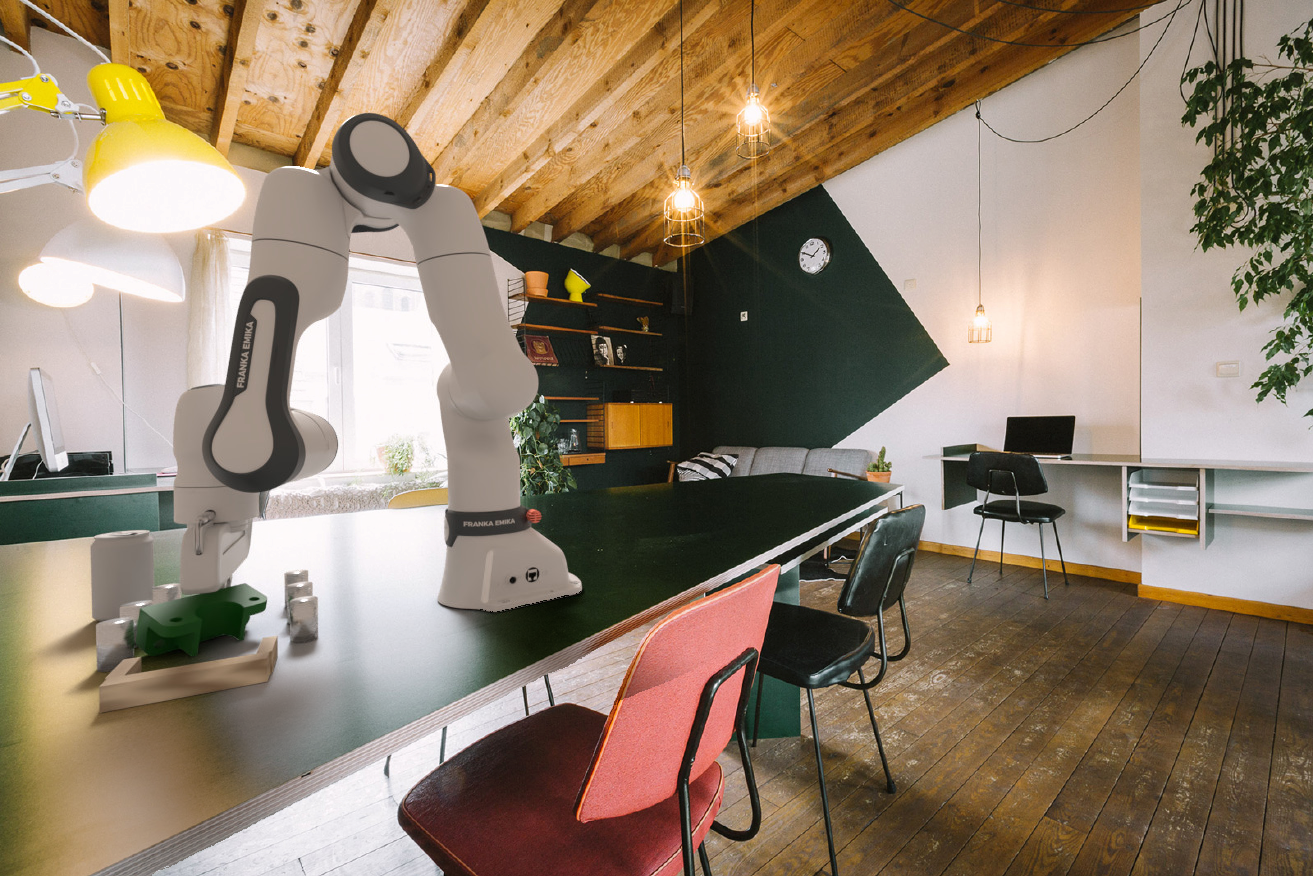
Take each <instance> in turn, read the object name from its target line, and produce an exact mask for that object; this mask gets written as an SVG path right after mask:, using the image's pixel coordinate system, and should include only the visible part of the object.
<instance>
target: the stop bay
mask: <svg viewBox="0 0 1313 876" xmlns="http://www.w3.org/2000/svg"><path fill="white" fill-rule="evenodd" d="M278 638H279V637H278V635H273V636H268V637H267V636H266V637H263V638H262V639H261V641H260V644H259V645H258V648H257V651H256V653H252V654H246V655H240V656H233V657H227V658H222V659H216V660H210V661H204V662H197V663H191V664H185V665H180V666H174V667H173V666H172V667H168V668H161V669H155V670H154V669H153V670H149V671H144V672H143V671H142V656H138V657H134V658H130V659H124V660H123V661H122V662H121V663H120V664H119V665H118V666H117V667H116V668H115V669H114V670H113V671H110V672H109V674H108V675H107V676H105V678H104V681H103V682H102V683H101V684H100V685H99V686H98V695H99V696H98V698H99V701H98V702H99V703H98V705H99V714H101V713H107V712H111V711H118V710H122V709H123V710H124V709H129V708H132V707H133V708H134V707H139V706H144V705H151V704H154V703H155V704H156V703H161V702H165V701H170V700H176V699H182V698H187V697H193V696H197V695H203V694H207V693H208V694H209V693H213V692H218V691H225V690H230V689H236V688H239V687H245V686H250V685H256V684H261V683H266V682H268V681H269V678H270V676H271V675H272V674H273V672H274V669H275V666H276V664H277V660H278V655H279V652H278V651H279V650H278V649H279V647H278V641H279V639H278Z"/></svg>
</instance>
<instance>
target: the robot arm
mask: <svg viewBox="0 0 1313 876" xmlns="http://www.w3.org/2000/svg"><path fill="white" fill-rule="evenodd" d="M332 139H333V140H332V144H331V157H330V163H329V166H326V167H325V168H322V169H309V168H305V167H302V166H301V167H300V166H290V165H289V166H281V167H276V168H275V169H273V170H271V171H270V172H268V173H267V175H266V176H265V178H264V179H263V183H262V186H261V188H260V191H259V195H258V199H257V203H256V207H255V211H254V218H253V224H252V231H251V233H252V234H251V246H250V261H249V269H248V275H247V276H248V277H247V282H246V286H245V287H244V289H243V293H242V295H241V297H240V301H239V304H238V309H237V313H236V318H235V322H234V327H233V328H234V329H233V334H232V340H231V345H230V354H229V359H228V364H227V371H226V378H225V383H212V384H205V385H198V386H195V387H191V388H190V389H187V390H186V391H184V392H183V393H182V394H181V395H180V397H179V398H178V401H177V403H176V407H175V413H174V418H173V420H174V421H173V432H172V433H173V437H172V446H173V447H172V451H173V456H174V458H175V462H176V466H177V467H176V468H177V469H176V470H177V472H176V474H175V477H174V481H173V522H174V523H175V524H178V525H179V524H180V525H186V528H187V529H186V531H185V532H184V533H183V535H182V539H181V546H180V547H181V548H180V559H179V560H180V561H179V562H180V565H179V584H180V588H181V594H182V595H185V596H193V595H197V594H202V593H210V592H216V591H218V590H219V589H225V588H227V587H231V586H232V583H233V574H234V573H235V572H236V571H237V569H238V568H239V567H241V565H242V564H243V563H244V562H245V561H246V559H248V557H249V553H250V549H251V543H252V541H251V540H252V533H253V522H254V521H253V519H254V518H257V517H259V515H260V493H265V492H269V491H271V490H274V489H277V488H279V487H281V486H283V485H285V484H288V483H293V482H298V481H300V480H303V479H307V478H310V477H313V476H315V475H317V474H319V473H322V472H323V471H325V470H326V469H328V467H330V466H331V464H333V462H334V460H335V459H336V456H337V453H338V450H339V439H338V435H337V432H336V430H335V429H334V427H333V426H332V425H331V423H329V421H327V420H326V419H325V418H324V417H322V416H319V415H317V414H316V413H313V412H309V411H306V410H302V409H300V408H295V407H292V406H291V405H290V404H291V403H290V401H291V400H290V399H291V392H292V385H293V380H294V379H293V378H294V377H293V376H294V372H295V371H294V370H295V362H296V356H297V349H298V344H299V342H300V339H301V338H302V335H303V334H304V332H305V331H306V330H307V329H308V328H309V327H310V326H311V325H314V324H315V323H316V322H318V321H322V320H324V319H326V318H328V317H329V316H332V315H333V314H334V313H336V312H337V311H338V310H339V309H340V307H341V306H342V303H343V300H344V297H345V293H346V289H347V285H348V284H347V283H348V280H349V278H348V277H349V265H350V264H349V262H350V243H351V236H352V234H357V233H360V234H361V233H385V232H389V231H392V230H394V229H396V228H398V227H400V228H401V229H402V230H403V231H404V232H405V234H406V236H407V238H408V239H409V242H410V244H411V246H412V249H413V256H414V260H415V264H416V269H417V273H418V277H419V281H420V285H421V288H422V293H423V297H424V302H425V304H426V310H427V313H428V316H429V320H430V321H431V323H432V324H433V325H434V327H435V329H436V331H437V332H438V335H439V337H440V341H441V342H442V344H443V346H444V348H445V352H446V354H447V356H448V359H449V363H448V364H446V365H445V367H443V369H442V371H441V373H440V374H439V376H438V379H437V382H436V396H437V398H438V402H439V409H440V410H439V411H440V419H441V427H442V432H443V438H444V444H445V450H446V452H445V453H446V460H447V461H446V462H447V508H445V511H444V517H443V519H444V520H443V522H444V523H443V524H444V525H443V529H444V530H443V531H444V532H443V533H444V541H445V545H446V553H445V555H446V556H445V561H444V569H443V576H442V580H441V583H440V588H439V592H438V595H437V597H436V600H437V601H438V603H440V604H442V605H444V606H446V607H450V608H456V609H466V610H468V609H469V610H470V609H471V610H480V609H483V610H482V611H485V610H486V611H485V612H490V611H491V612H492V611H493V612H492V613H498V612H497V611H500V612H503V611H502V610H504V611H506V610H505V609H509V610H512V609H511V608H513V609H516V608H515V607H517V608H519V607H518V606H521V605H525V604H530V605H533V604H532V603H534V604H537V603H536V602H539V603H541V602H540V601H543V600H547V601H551V600H550V599H552V600H555V599H554V598H556V599H558V598H557V597H560V598H562V597H561V596H564V595H569V596H573V595H577V594H580V593H581V592H582V590H583V585H582V581H581V579H580V578H578V576H577V575H575V574H573V573H571V572H569V569H568V563H567V559H566V556H565V554H564V552H563V550H562V548H560V547H559V546H558V545H557V544H555V543H554V542H552V541H551V540H550V539H548V538H547V537H545V536H544V535H543V534H541V533H540V532H539V531H537V530H536V529H534V528H533V527H532V525H533V524H537V523H539V522H540V520H542V517H543V516H542V513H541V512H540V511H539V510H537V509H535V508H531V509H530V508H527V507H526V506H523V505H522V504H521V459H520V455H519V453H518V451H517V448H516V447H515V443H514V439H513V435H512V432H511V425H510V419H511V418H513V417H516V416H517V415H518V414H520V413H521V412H523V411H524V410H526V409H528V407H530V405H531V404H532V403H533V401H534V400H535V398H536V397H537V394H538V392H539V391H538V390H539V376H538V372H537V369H536V368H535V366H534V364H533V362H532V361H531V360H530V358H528V356H527V355H526V354H525V353H524V351H523V350H522V349H521V346H520V344H519V341H518V339H517V337H516V335H515V332H514V330H513V328H512V326H511V323H510V321H509V318H508V316H507V314H506V312H505V307H504V306H503V305H504V304H503V301H502V298H501V294H500V289H499V285H498V281H497V276H496V273H495V268H494V264H493V259H492V255H491V252H490V251H491V250H490V247H489V243H488V239H487V236H486V233H485V231H484V227H483V225H482V221H481V220H480V217H479V214H478V211H477V210H476V207H475V205H474V203H473V201H472V199H471V197H470V196H469V195H468V194H467V193H466V192H464V191H463V190H462V189H460V188H458V187H455V186H453V185H448V184H447V185H446V184H436V182H437V181H436V180H437V177H436V176H437V175H436V171H435V170H434V168H433V166H432V165H431V164H430V162H429V161H428V160H427V159H426V157H425V156H424V155H423V154H422V152H421V150H420V148H419V147H418V146H417V143H416V142H415V141H414V139H413V138H412V136H411V134H410V133H408V132H407V130H405V128H404V127H403V126H401V125H400V124H399V123H398V122H397V121H395V120H393V119H392V118H390V117H388V116H385V115H382V114H379V113H372V112H362V113H359V114H355V115H353V116H351V117H349V118H348V119H346V120H345V121H343V123H342V124H341V125H340V127H338V129H337V130H336V133H335V134H334V137H333V138H332ZM580 591H581V592H580ZM579 592H580V593H579ZM576 593H577V594H576ZM543 602H544V601H543ZM521 607H522V606H521Z"/></svg>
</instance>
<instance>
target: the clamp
mask: <svg viewBox="0 0 1313 876" xmlns="http://www.w3.org/2000/svg"><path fill="white" fill-rule="evenodd" d="M267 604H268V597H267V595H265V594H263V593H262V592H260V591H259V590H257V589H255V588H254V587H252V586H251V585H249V584H248V583H246V582H244V583H240V584H234V585H231V587H227V588H225V589H219V590H218V591H216V592H210V593H202V594H192V595H188V596H186V597H181V598H180V599H176V600H172V601H168V602H164V603H159V604H155V605H151V606H147V607H143V608H140V612H139V620H138V627H137V635H136V645H137V646H138V648H139V649H140V650H141V651H143V652H144V653H145V654H146V655H148V656H150V657H151V656H153V657H156V656H159V655H163V654H165V653H169V652H173V651H175V650H179V649H181V650H182V651H183V652H185V653H186V654H188V655H189V656H190V657H196V656H197V655H198V653H199V644H200V643H202V642H204V641H205V642H206V641H209V640H212V639H214V638H218V637H222V636H228V637H229V636H230V637H233V638H235V639H236V640H238V642H242V641H244V640H245V634H246V627H247V625H248V623H249V622H250V619H251V616H254V615H257V614H261V613H263V612H264V611H266V610H267V609H266V608H267Z"/></svg>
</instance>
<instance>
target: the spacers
mask: <svg viewBox="0 0 1313 876" xmlns="http://www.w3.org/2000/svg"><path fill="white" fill-rule="evenodd" d="M283 575H284V608H285V609H286V612H287V613H286V614H287V615H286V619H287V620H286V621H287V622H286V623H287V624H288V623H289V642H290V643H291V644H303V643H307V642H308V643H309V642H311V641H314V640H316V639H317V638H319V618H318V617H319V608H318V607H319V605H318V604H319V603H318V602H319V600H318V599H319V598H318V596H315V595H313V593H314V592H313V591H314V589H313V585H314V584H313V582H312V581H309V570H308V569H297V570H290V571H286V572H285V573H284V574H283ZM180 598H182V591H181V588H180V583H166V584H161V585H157V586H154V587H153V588H152V601H150V600H145V601H136V602H131V603H127V604H124V605H121V606H120V618H116V619H111V620H107V621H103V622H100V621H99V622H98V623H96V625H95V634H96V635H95V636H96V637H95V640H96V641H95V642H96V671H97V672H101V673H102V672H103V673H104V672H105V673H106V672H112V671H113V670H114V669H115V668H116V667H117V666H118V665H119V664H120V663H121V662H122V661H123V660H124V659H130V658H135V649H137V647H138V646H137V645H136V635H137V627H138V620H139V612H140V608H143V607H147V606H151V605H155V604H159V603H164V602H168V601H172V600H176V599H180ZM138 648H139V647H138Z"/></svg>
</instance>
